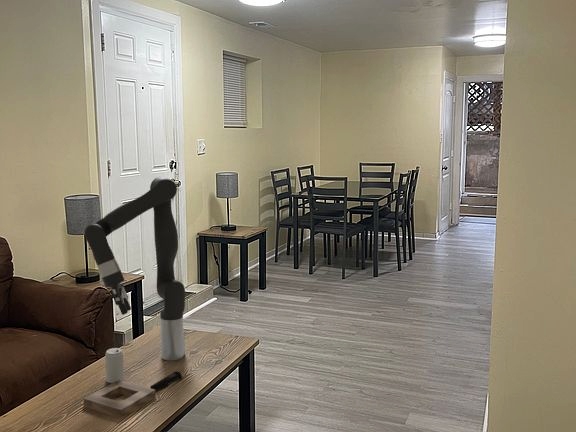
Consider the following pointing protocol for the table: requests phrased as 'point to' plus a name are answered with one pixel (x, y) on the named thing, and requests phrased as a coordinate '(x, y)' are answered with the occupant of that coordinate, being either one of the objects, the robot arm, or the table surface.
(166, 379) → the electric trimmer
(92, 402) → the hole board
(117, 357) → the beverage can
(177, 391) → the table surface
